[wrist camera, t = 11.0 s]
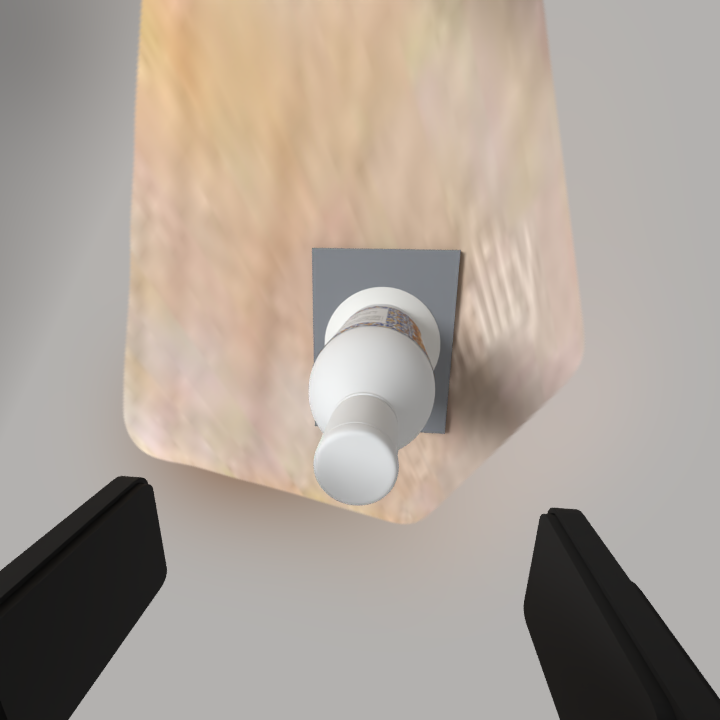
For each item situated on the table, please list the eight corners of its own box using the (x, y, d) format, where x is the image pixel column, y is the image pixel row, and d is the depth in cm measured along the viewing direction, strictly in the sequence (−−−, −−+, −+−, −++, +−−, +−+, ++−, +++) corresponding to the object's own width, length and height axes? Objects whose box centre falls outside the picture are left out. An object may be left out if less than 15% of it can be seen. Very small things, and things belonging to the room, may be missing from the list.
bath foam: (419, 383, 32) (451, 565, 13) (341, 379, 33) (259, 546, 13) (424, 304, 30) (472, 377, 11) (341, 301, 31) (248, 365, 12)
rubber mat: (313, 248, 31) (311, 248, 30) (459, 250, 29) (460, 250, 29) (316, 423, 35) (314, 426, 34) (443, 430, 34) (444, 434, 33)
